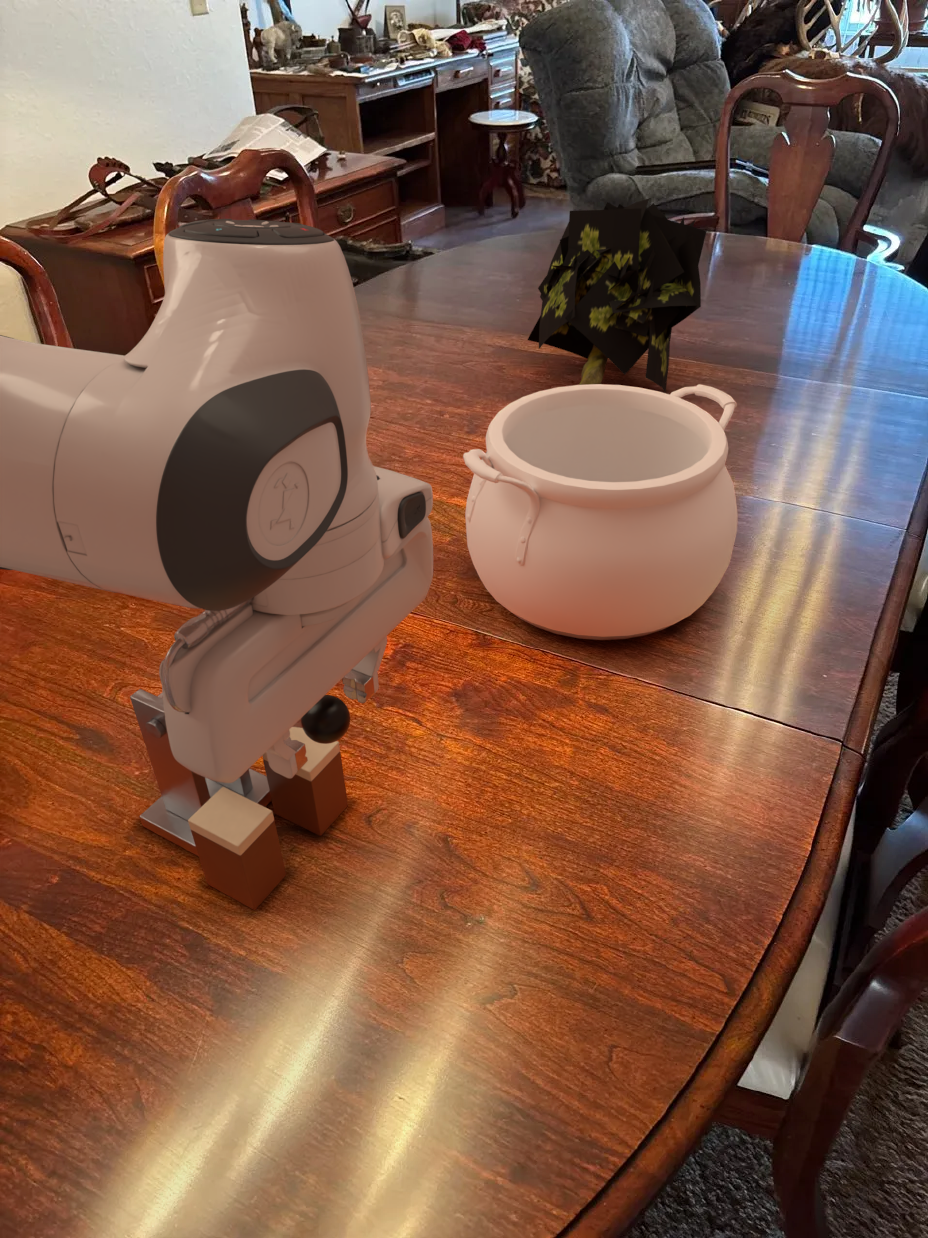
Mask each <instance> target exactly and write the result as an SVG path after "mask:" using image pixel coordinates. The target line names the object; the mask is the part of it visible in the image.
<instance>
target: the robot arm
mask: <svg viewBox="0 0 928 1238" xmlns="http://www.w3.org/2000/svg"><path fill="white" fill-rule="evenodd" d="M162 258H163V259H162V263H163V264H162V265H163V266H162V268H163V282H164V283H163V286H164V296H163V299H162V302H161V305H160V307H159V309H158V311H157V313H156V315H155V318H154V319H153V321H152V322H151V325H150V327H149V328H148V330H147V331H146V333H145V334H144V336H142V338H141V340H140V341H138V343H137V344H136V345H135V346H134V347H133V348H132V349H131V350H130V351H129V352H127V354H125V355H123V354H116V353H109V352H100V351H95V350H94V351H93V350H86V349H79V348H73V347H66V346H65V347H64V346H58V345H50V344H44V343H38V342H33V341H26V340H22V339H18V338H15V337H10V336H7V335H2V334H0V570H4V571H16V572H21V573H26V574H30V575H35V576H37V577H38V576H39V577H43V578H48V579H52V580H56V581H60V582H66V583H70V584H73V585H74V584H75V585H77V586H78V585H79V586H84V587H88V588H92V589H96V590H100V591H106V592H110V593H114V594H115V593H116V594H122V595H127V596H130V597H131V596H132V597H136V598H139V599H145V600H149V601H155V602H160V603H163V604H168V605H174V606H179V607H183V608H189V609H201V610H204V611H202V612H201V613H199V614H197V616H193V617H191V618H189V619H188V620H186V621H185V622H184V623H183V624H182V625H181V626H180V627H179V628H178V629H177V630H176V631H175V632H174V636H173V637H174V638H173V639H174V642H173V643H172V644H171V646H170V648H169V649H168V650H167V652H166V655H165V656H164V659H163V660H162V661H161V662H160V664H159V671H158V672H159V680H160V683H161V693H163V704H164V712H165V720H166V727H167V732H168V738H169V743H170V747H171V751H172V754H173V756H174V758H175V759H176V760H177V762H179V763H180V764H181V765H182V766H184V767H186V768H187V769H189V770H191V771H193V772H194V773H196V774H199V775H201V776H203V777H205V778H208V779H210V780H214V781H218V782H223V783H232V782H234V781H236V780H237V779H238V778H240V777H241V776H242V775H243V774H244V773H245V772H246V771H247V770H248V769H249V768H250V769H251V767H252V766H253V765H254V764H255V763H257V761H258V760H260V759H261V757H262V755H263V754H264V753H265V752H266V753H267V758H268V762H269V766H270V768H271V769H272V770H273V771H274V772H276V773H278V774H280V775H282V776H285V777H287V778H293V776H294V775H295V774H296V773H297V772H298V771H299V770H300V769H301V768H302V766H303V765H304V764H305V763H306V762H307V761H308V759H307V757H306V756H305V755H306V747H305V744H304V743H302V742H299V741H297V740H291V738H290V737H289V736H290V730H289V729H290V728H291V727H292V726H293V725H294V724H296V723H297V722H298V721H299V720H300V719H301V718H302V717H303V716H304V715H305V714H306V713H307V712H308V711H309V710H310V709H311V708H312V707H313V706H314V705H315V704H316V703H317V702H318V701H319V700H320V699H321V698H323V697H324V696H325V695H328V693H329V692H330V691H331V690H332V689H334V687H335V686H336V685H338V683H339V682H340V681H342V682H341V683H342V684H343V688H342V690H343V693H344V695H345V697H347V698H348V699H351V700H352V701H353V700H356V701H357V702H358V703H360V704H365V703H367V702H368V701H369V700H370V699H371V697H373V696H374V695H375V694H376V693H377V692H378V691H379V689H380V686H379V685H380V684H379V683H380V682H379V673H378V672H379V670H380V667H381V664H382V662H383V661H382V660H383V657H384V654H385V652H386V648H387V645H388V635H389V634H391V632H392V631H393V630H394V629H396V627H398V626H399V625H400V624H401V623H402V622H403V621H404V620H405V619H406V618H407V617H408V616H409V615H410V614H412V612H413V611H414V610H416V608H418V606H419V605H420V604H422V603H424V601H425V599H426V598H427V596H428V593H429V590H430V589H431V585H432V582H433V579H434V541H433V539H434V538H433V530H432V529H433V528H432V523H431V520H430V519H429V516H430V515H431V513H432V511H433V506H434V505H433V503H434V494H433V492H434V491H433V487H432V485H431V484H430V483H429V482H426V481H424V480H421V479H418V478H417V477H413V476H410V475H406V474H404V473H401V472H398V471H394V470H390V469H388V468H383V467H380V466H376V465H373V462H372V460H371V458H370V455H369V452H368V451H369V450H368V446H367V435H368V428H369V424H370V420H371V413H372V398H371V387H370V379H369V378H370V377H369V368H368V361H367V360H368V359H367V353H366V347H365V346H366V345H365V338H364V333H363V326H362V321H361V315H360V310H359V304H358V301H357V296H356V292H355V291H356V290H355V288H354V287H355V286H354V284H353V281H352V277H351V272H350V270H349V266H348V263H347V259H346V257H345V255H344V253H343V251H342V248H341V245H340V244H339V242H338V241H337V240H336V239H335V238H333V237H332V236H330V235H328V234H327V233H325V232H324V231H323V230H322V229H319V228H317V227H314V226H311V225H307V224H302V223H298V222H288V221H277V220H276V221H275V220H263V219H253V218H252V219H251V218H250V219H233V218H213V219H202V220H197V221H191V222H187V223H184V224H181V225H179V226H178V227H176V228H175V229H173V230H170V231H169V232H168V233H167V234H166V235H165V237H164V241H163V252H162Z"/></svg>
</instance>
